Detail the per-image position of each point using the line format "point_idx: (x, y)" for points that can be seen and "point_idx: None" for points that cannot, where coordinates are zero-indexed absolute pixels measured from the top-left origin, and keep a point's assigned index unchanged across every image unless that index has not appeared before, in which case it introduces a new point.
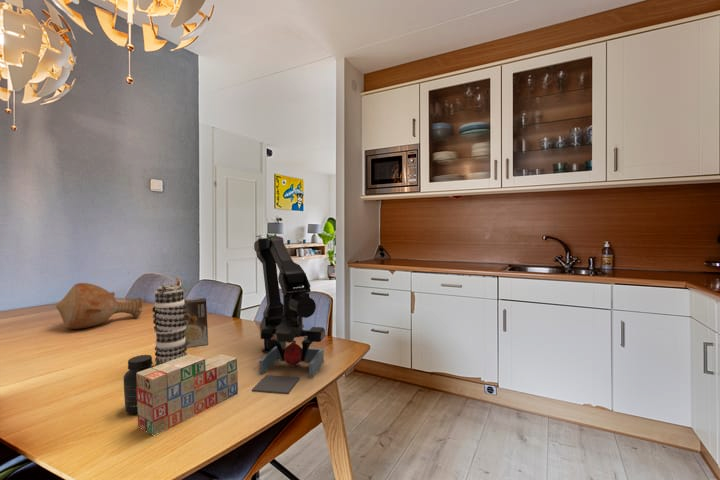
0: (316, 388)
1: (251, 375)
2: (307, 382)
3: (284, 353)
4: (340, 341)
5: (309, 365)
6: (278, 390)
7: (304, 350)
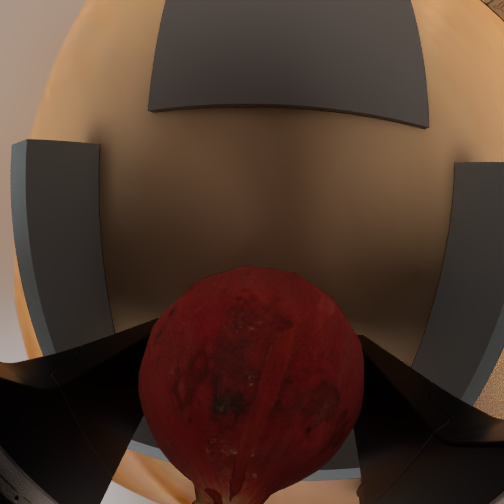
0: (62, 48)
1: (500, 154)
2: (100, 81)
3: (354, 353)
4: (155, 498)
5: (37, 140)
6: None
7: (71, 355)
